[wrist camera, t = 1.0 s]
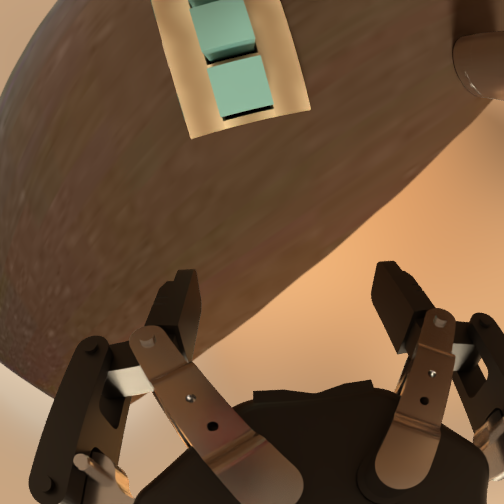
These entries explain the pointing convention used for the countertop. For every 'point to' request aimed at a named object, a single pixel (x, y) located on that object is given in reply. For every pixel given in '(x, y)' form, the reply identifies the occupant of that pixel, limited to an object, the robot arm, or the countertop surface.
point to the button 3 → (240, 85)
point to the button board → (196, 63)
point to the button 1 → (200, 2)
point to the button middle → (223, 29)
